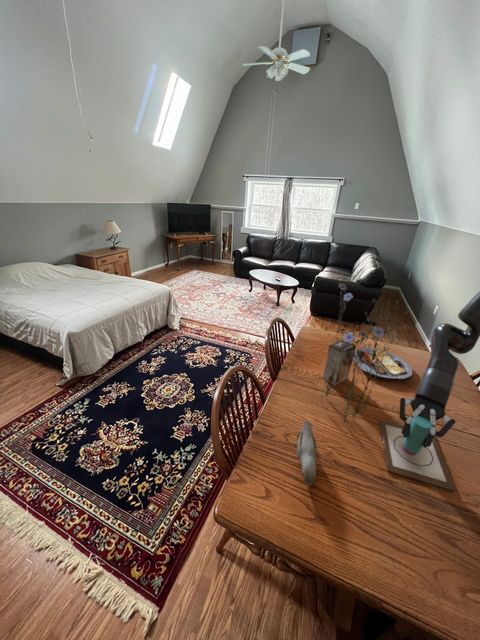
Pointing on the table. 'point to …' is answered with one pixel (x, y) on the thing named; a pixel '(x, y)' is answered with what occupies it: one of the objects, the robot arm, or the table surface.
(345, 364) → the coffee box
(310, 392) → the table surface
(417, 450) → the cylinder
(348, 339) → the wildflower
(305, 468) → the decorative bird
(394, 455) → the picture frame
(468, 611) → the table surface
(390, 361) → the food plate
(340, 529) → the table surface
